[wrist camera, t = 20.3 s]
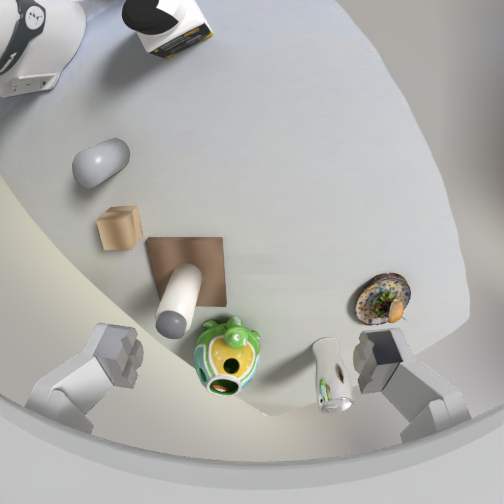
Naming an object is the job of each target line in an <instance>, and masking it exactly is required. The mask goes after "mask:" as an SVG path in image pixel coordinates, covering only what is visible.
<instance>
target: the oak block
mask: <svg viewBox="0 0 504 504" xmlns="http://www.w3.org/2000/svg"><path fill="white" fill-rule="evenodd" d="M96 222H97V226H98V230H99V233H100V237H101V241H102V244H103V248H104V250H132V249H133V248H134V246H135V245H136V244H137V242H138V241H139V239H140V238H141V237H142V235H143V231H142V226H141V221H140V216H139V211H138V206H123V207H110V208H109V209H108V210H107V211H106V212H105V213H104V214H103V215H102V216H101V217H99V218H98V219H97V220H96Z"/></svg>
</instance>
